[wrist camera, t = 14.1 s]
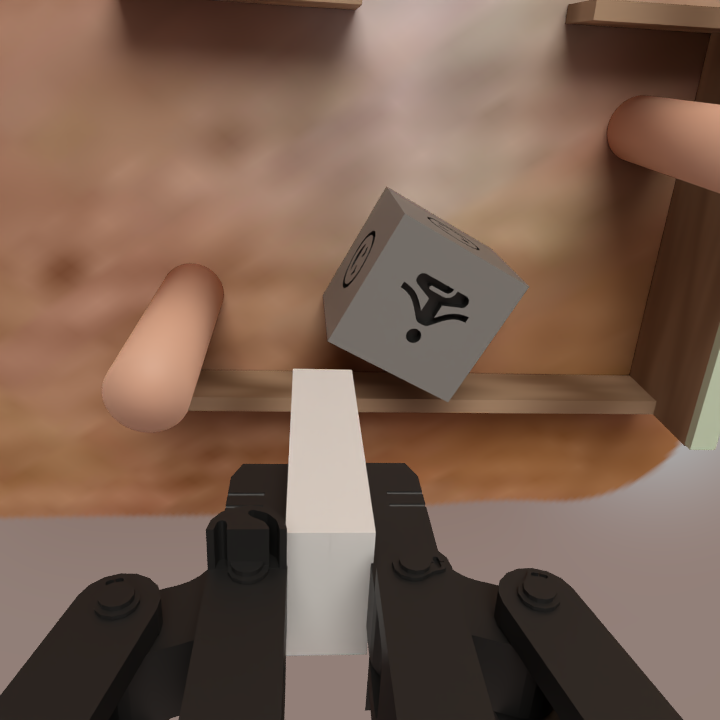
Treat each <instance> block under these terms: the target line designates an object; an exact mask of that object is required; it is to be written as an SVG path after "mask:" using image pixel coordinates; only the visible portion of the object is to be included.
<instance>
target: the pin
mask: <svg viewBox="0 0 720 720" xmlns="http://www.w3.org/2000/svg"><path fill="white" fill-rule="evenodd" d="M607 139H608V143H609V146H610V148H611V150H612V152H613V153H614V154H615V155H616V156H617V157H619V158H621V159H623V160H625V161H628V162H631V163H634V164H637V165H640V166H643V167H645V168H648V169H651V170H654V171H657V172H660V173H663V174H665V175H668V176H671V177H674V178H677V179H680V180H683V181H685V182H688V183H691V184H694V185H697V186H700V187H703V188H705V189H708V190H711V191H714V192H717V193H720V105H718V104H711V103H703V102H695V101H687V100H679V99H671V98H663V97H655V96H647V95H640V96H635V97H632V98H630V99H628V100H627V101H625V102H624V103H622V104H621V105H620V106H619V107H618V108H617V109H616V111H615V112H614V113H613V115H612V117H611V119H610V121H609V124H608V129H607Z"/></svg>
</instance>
